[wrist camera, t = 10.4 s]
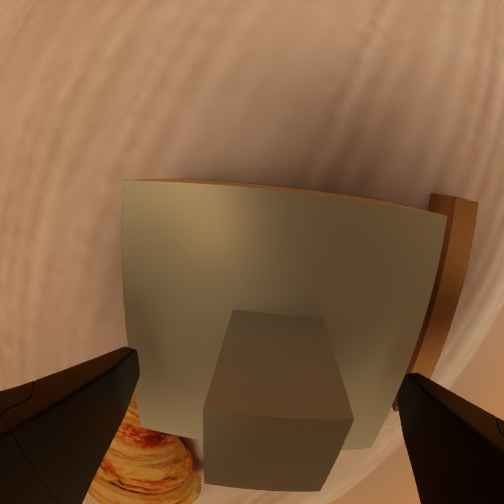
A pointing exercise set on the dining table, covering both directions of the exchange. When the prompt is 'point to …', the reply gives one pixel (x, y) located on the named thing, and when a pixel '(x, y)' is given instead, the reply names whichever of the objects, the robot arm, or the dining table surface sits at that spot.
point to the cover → (272, 320)
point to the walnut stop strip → (444, 281)
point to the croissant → (145, 467)
